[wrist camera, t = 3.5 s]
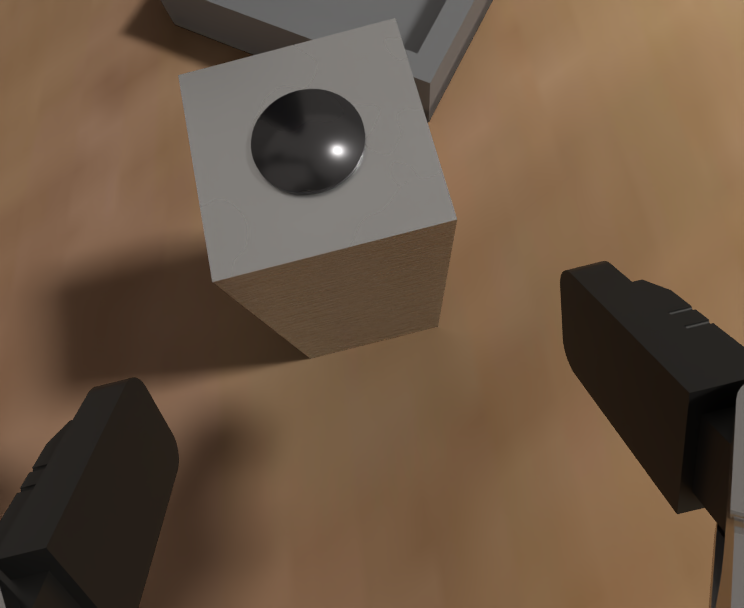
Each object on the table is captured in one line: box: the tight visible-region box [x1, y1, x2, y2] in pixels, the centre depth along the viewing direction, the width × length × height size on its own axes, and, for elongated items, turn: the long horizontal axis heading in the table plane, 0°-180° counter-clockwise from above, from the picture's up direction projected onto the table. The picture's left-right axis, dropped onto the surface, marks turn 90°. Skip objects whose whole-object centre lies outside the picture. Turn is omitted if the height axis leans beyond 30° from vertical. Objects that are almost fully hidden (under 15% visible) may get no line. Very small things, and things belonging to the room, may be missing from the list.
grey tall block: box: [178, 18, 457, 359], centre depth 16 cm, size 5×5×10 cm
